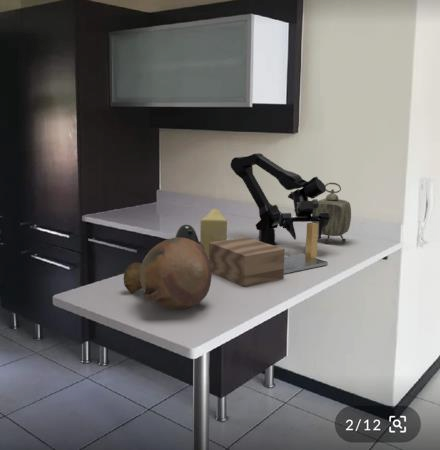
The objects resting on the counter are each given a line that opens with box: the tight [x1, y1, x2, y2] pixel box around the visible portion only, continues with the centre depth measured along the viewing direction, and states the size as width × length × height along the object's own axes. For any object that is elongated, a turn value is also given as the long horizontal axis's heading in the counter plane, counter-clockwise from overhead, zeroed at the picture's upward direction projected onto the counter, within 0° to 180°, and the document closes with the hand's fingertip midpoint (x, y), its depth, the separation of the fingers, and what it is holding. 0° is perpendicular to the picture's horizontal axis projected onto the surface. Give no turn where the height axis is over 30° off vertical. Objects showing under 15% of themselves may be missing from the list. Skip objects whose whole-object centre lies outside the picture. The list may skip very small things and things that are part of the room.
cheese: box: [199, 208, 228, 258], centre depth 215 cm, size 22×10×15 cm, turn 179°
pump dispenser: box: [174, 223, 200, 242], centre depth 192 cm, size 10×10×15 cm
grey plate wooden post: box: [284, 222, 329, 275], centre depth 195 cm, size 26×13×14 cm, turn 125°
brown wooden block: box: [209, 236, 285, 288], centre depth 185 cm, size 20×16×10 cm
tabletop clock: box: [311, 182, 352, 244], centre depth 231 cm, size 14×9×25 cm, turn 61°
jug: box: [123, 237, 213, 310], centre depth 158 cm, size 20×20×30 cm
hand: (307, 238), depth 207 cm, fingers open, 9 cm apart
